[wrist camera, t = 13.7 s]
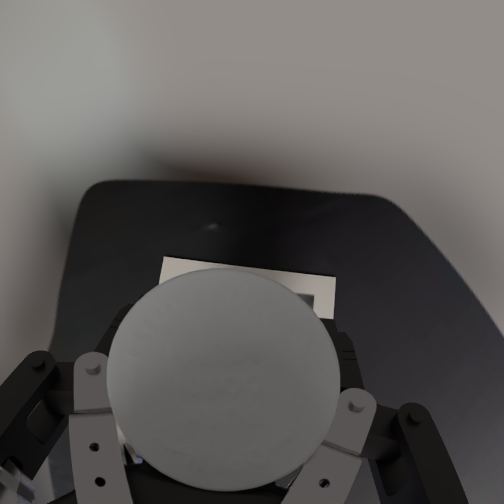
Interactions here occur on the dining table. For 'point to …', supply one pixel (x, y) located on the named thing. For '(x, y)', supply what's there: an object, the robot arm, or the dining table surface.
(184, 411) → the pill bottle
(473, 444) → the dining table surface
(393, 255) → the dining table surface
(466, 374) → the dining table surface
